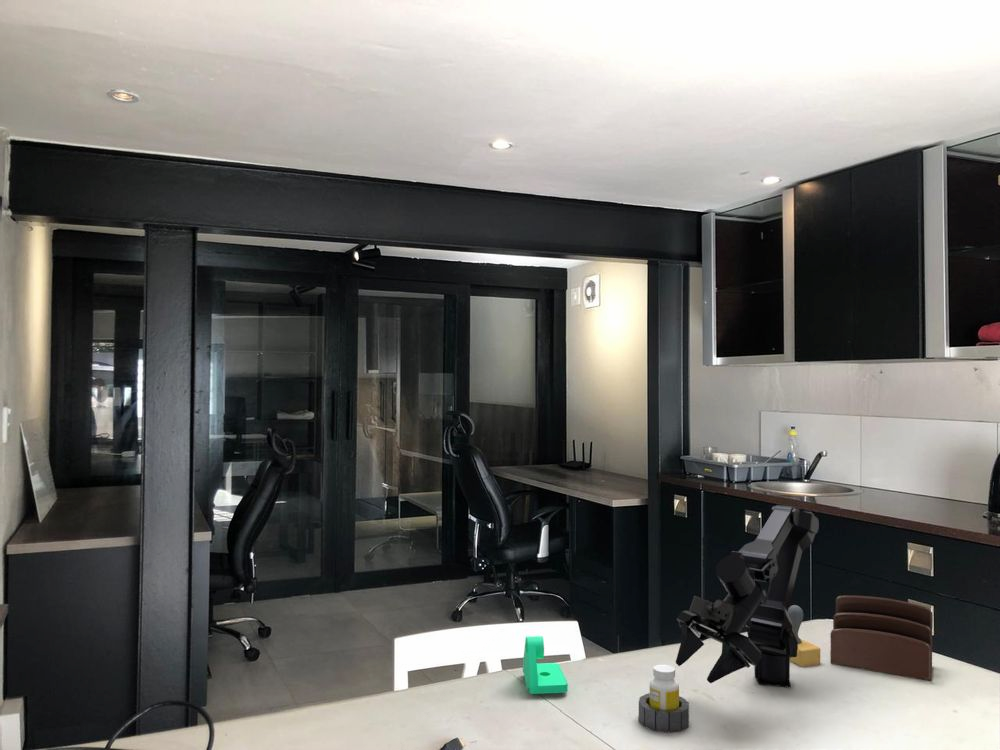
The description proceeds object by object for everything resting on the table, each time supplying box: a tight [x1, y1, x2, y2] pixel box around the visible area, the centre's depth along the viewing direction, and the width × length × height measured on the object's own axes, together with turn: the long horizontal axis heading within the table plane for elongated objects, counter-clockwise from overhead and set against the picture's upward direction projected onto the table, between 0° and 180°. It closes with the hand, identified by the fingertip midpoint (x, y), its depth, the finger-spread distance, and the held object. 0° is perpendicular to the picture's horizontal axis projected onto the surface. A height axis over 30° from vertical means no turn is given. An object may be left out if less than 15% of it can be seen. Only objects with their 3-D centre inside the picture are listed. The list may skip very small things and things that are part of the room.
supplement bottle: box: [649, 664, 680, 710], centre depth 144 cm, size 5×5×10 cm
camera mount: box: [522, 635, 569, 695], centre depth 161 cm, size 12×8×10 cm, turn 6°
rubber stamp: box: [788, 604, 821, 668], centre depth 178 cm, size 10×6×12 cm, turn 20°
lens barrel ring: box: [638, 692, 690, 734], centre depth 144 cm, size 9×9×4 cm
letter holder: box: [829, 595, 933, 682], centre depth 173 cm, size 10×20×14 cm, turn 60°
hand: (692, 672), depth 147 cm, fingers open, 9 cm apart
